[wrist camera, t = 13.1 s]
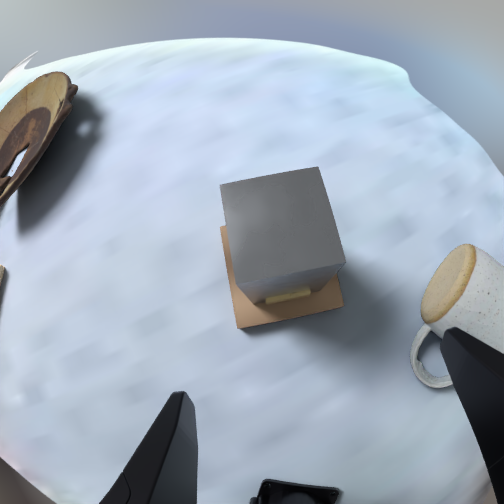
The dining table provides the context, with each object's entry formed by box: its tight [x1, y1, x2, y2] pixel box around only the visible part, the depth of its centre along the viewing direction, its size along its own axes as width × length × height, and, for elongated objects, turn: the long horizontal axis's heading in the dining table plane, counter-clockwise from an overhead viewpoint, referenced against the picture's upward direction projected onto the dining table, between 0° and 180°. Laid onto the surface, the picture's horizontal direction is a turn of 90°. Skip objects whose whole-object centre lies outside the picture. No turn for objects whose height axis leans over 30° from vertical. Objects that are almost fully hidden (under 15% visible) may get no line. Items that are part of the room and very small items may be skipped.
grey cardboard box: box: [220, 167, 346, 305], centre depth 18 cm, size 6×5×9 cm
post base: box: [220, 226, 344, 329], centre depth 22 cm, size 8×8×4 cm
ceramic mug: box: [410, 244, 504, 388], centre depth 17 cm, size 11×8×8 cm
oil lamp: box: [0, 72, 78, 207], centre depth 28 cm, size 22×30×8 cm
